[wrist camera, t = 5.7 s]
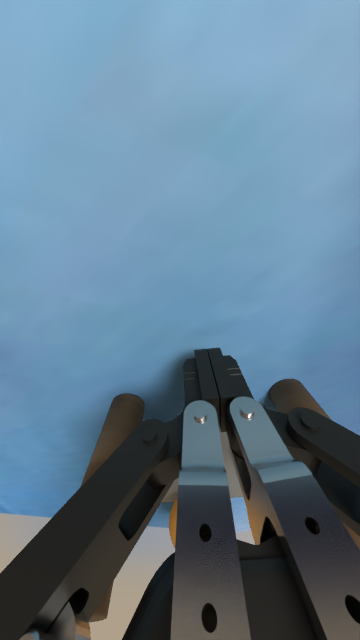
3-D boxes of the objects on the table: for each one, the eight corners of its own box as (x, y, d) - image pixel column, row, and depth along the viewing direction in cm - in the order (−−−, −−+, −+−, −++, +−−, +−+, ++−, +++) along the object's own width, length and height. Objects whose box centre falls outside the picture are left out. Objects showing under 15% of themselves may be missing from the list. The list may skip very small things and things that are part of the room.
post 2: (305, 377, 14) (489, 585, 6) (299, 401, 15) (444, 602, 7) (271, 380, 14) (404, 590, 6) (267, 404, 15) (373, 606, 7)
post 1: (141, 392, 14) (94, 608, 6) (147, 414, 15) (114, 620, 7) (108, 395, 14) (18, 612, 6) (116, 417, 15) (50, 624, 7)
